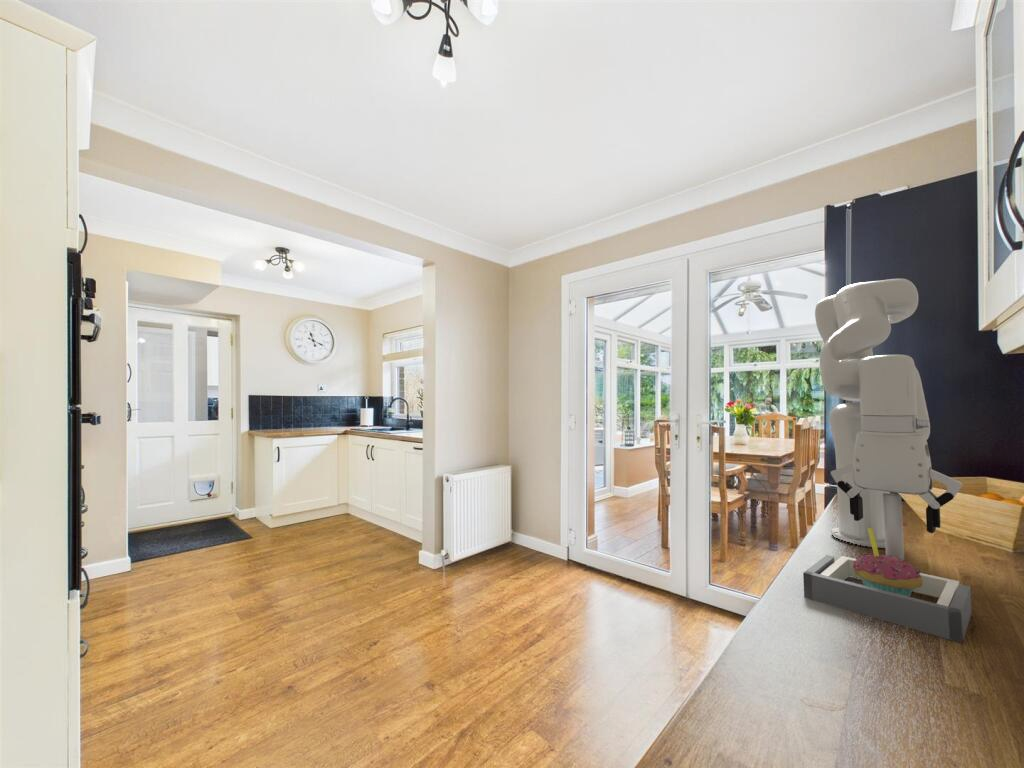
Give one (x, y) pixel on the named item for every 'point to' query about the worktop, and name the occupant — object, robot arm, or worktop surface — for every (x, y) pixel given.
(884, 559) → the pink frosted cake
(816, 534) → the worktop surface
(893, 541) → the collar
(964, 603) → the holder bay
